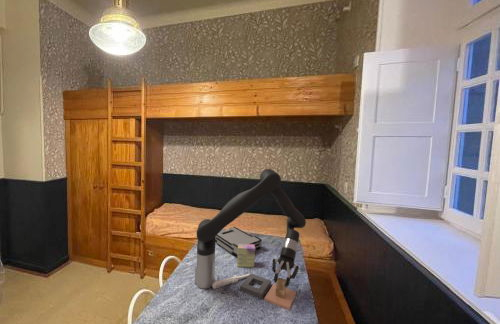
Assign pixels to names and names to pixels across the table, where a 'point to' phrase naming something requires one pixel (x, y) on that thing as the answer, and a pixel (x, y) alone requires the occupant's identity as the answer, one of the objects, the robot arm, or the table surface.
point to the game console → (236, 240)
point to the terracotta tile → (279, 301)
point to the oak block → (280, 288)
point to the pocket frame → (255, 291)
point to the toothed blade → (228, 281)
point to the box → (246, 255)
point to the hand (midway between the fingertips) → (280, 284)
